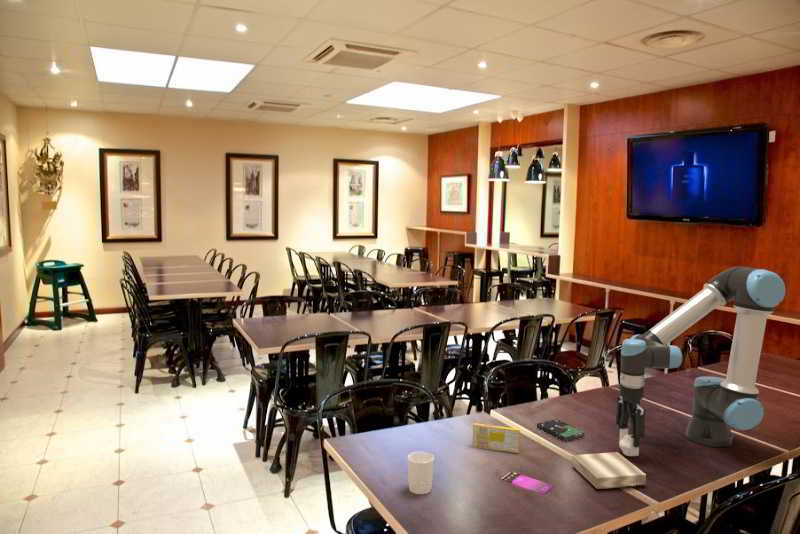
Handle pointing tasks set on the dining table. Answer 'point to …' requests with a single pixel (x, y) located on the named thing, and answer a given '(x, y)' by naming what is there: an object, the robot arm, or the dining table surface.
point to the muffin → (626, 444)
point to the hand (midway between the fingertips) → (628, 451)
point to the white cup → (420, 472)
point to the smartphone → (527, 482)
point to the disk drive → (561, 430)
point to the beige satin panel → (608, 470)
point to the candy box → (496, 438)
